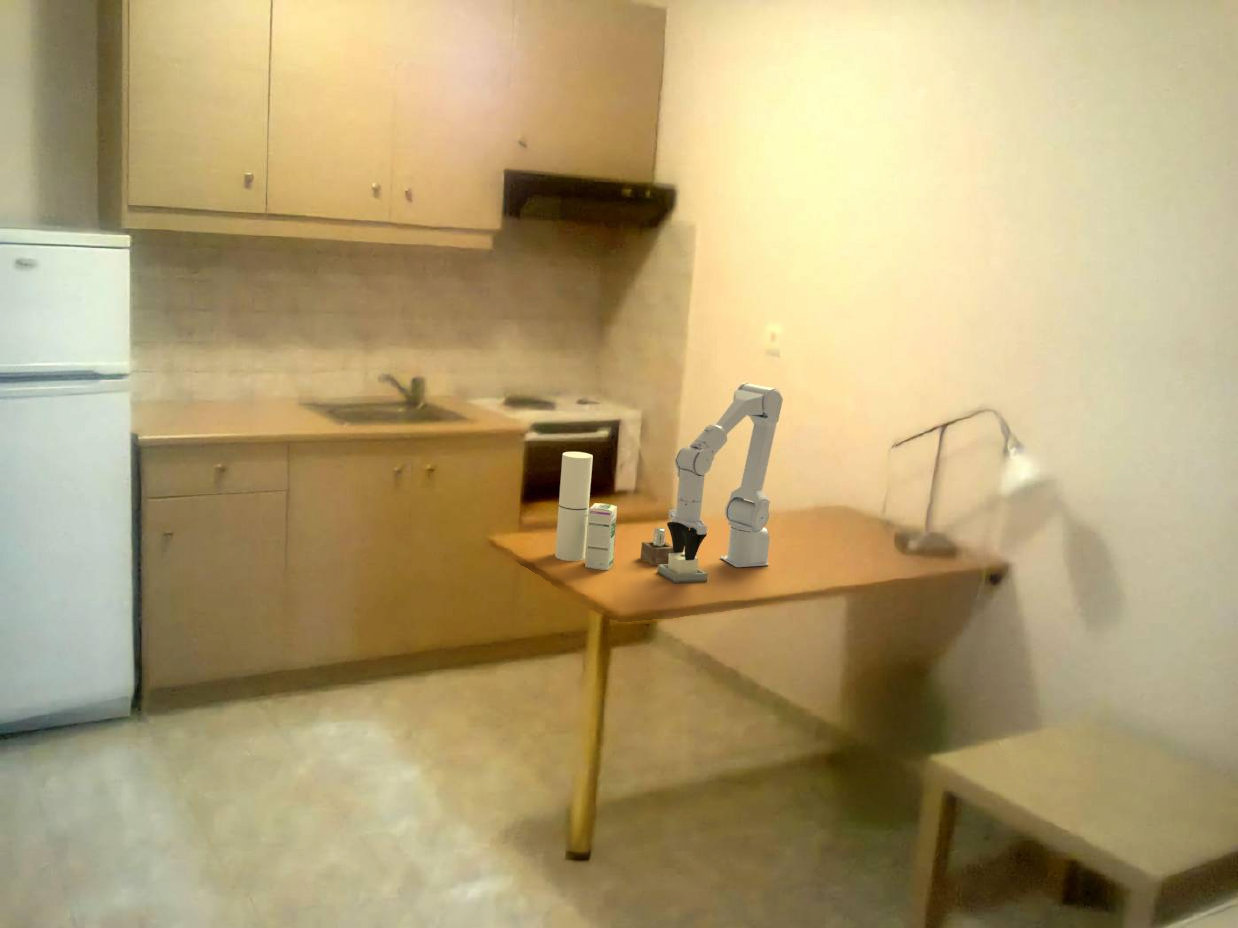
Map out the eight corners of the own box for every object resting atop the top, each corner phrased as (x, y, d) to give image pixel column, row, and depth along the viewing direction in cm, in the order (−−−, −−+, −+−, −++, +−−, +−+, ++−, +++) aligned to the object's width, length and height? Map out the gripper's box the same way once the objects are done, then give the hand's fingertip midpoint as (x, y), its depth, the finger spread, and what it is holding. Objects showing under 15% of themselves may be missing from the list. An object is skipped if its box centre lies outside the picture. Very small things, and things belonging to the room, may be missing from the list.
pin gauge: (658, 558, 262) (661, 527, 260) (664, 562, 259) (667, 530, 258) (649, 559, 260) (652, 527, 259) (655, 562, 258) (658, 530, 257)
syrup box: (608, 570, 249) (613, 510, 246) (583, 567, 250) (588, 507, 247) (613, 564, 254) (618, 505, 251) (589, 560, 255) (594, 501, 252)
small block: (686, 567, 252) (687, 550, 251) (697, 574, 248) (698, 557, 247) (668, 570, 250) (668, 553, 249) (678, 576, 246) (678, 559, 245)
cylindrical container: (548, 555, 257) (556, 453, 252) (570, 550, 262) (577, 450, 257) (569, 562, 252) (577, 459, 247) (590, 558, 258) (599, 456, 253)
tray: (689, 569, 255) (689, 562, 254) (706, 581, 247) (707, 573, 247) (657, 571, 251) (658, 564, 251) (674, 583, 244) (675, 575, 243)
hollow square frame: (662, 556, 264) (663, 540, 263) (673, 563, 259) (675, 547, 258) (640, 557, 261) (641, 542, 260) (651, 565, 256) (653, 549, 255)
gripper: (659, 492, 250) (654, 547, 253) (689, 507, 237) (683, 566, 240) (686, 491, 253) (680, 546, 256) (717, 506, 240) (710, 564, 243)
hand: (683, 556), depth 248 cm, fingers closed on small block, 5 cm apart
